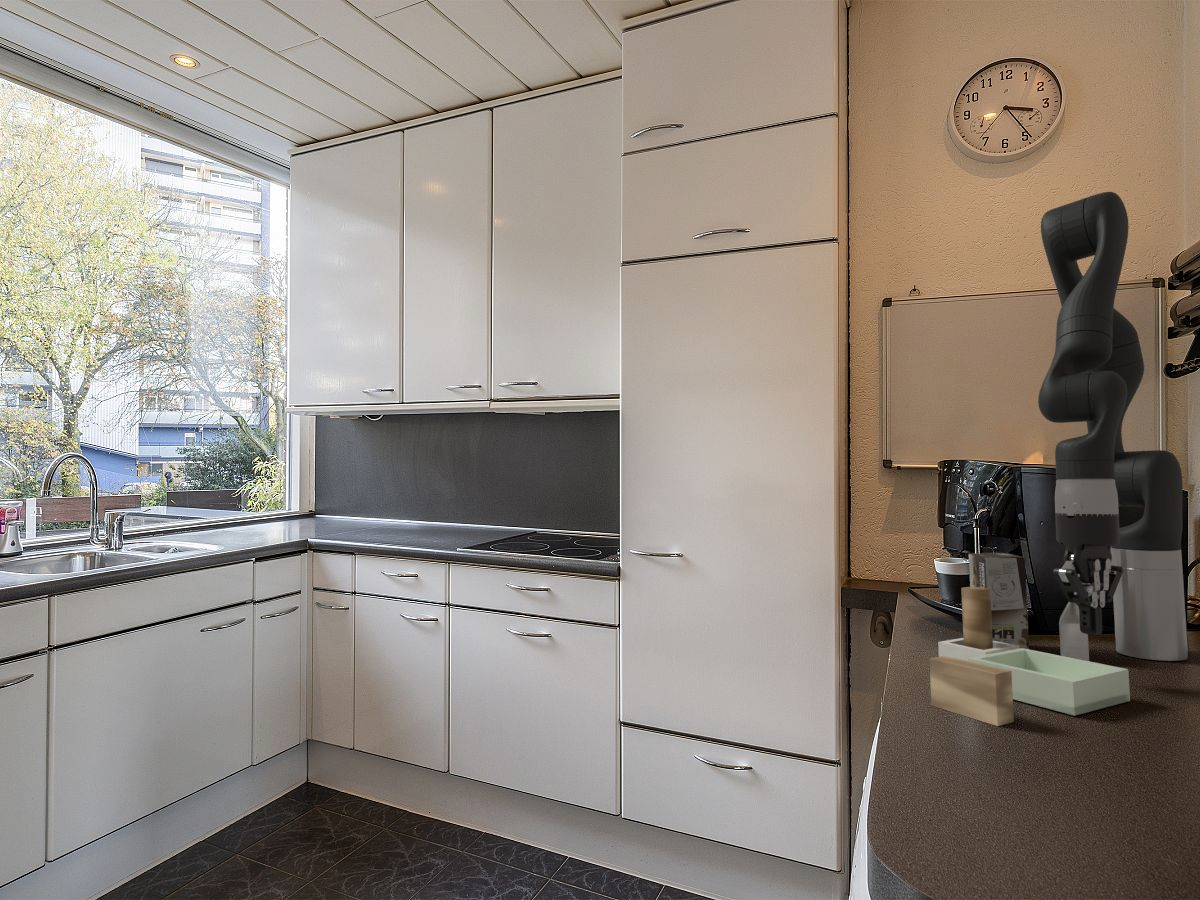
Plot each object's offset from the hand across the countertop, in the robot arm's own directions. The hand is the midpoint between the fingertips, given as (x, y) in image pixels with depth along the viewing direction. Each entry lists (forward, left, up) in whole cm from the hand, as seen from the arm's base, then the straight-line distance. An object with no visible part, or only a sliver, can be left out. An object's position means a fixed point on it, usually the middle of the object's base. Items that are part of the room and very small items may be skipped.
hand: (1091, 633), depth 100 cm
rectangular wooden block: (+27, 0, -7) cm, 28 cm away
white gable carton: (-13, -10, -7) cm, 17 cm away
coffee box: (-9, -20, -7) cm, 23 cm away
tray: (+11, 0, -7) cm, 13 cm away
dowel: (+5, -14, -7) cm, 16 cm away
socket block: (+5, -14, -7) cm, 16 cm away
